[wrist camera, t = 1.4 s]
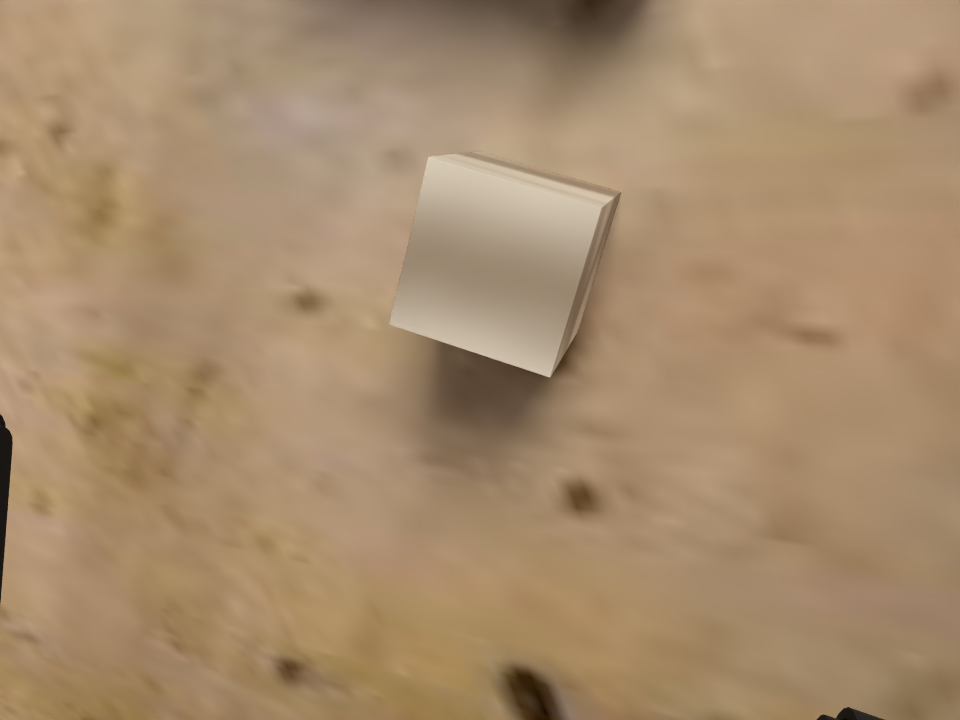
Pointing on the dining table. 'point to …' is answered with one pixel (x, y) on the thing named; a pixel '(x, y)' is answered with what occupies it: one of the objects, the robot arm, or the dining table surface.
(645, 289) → the dining table surface
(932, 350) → the dining table surface
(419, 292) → the maple cube
